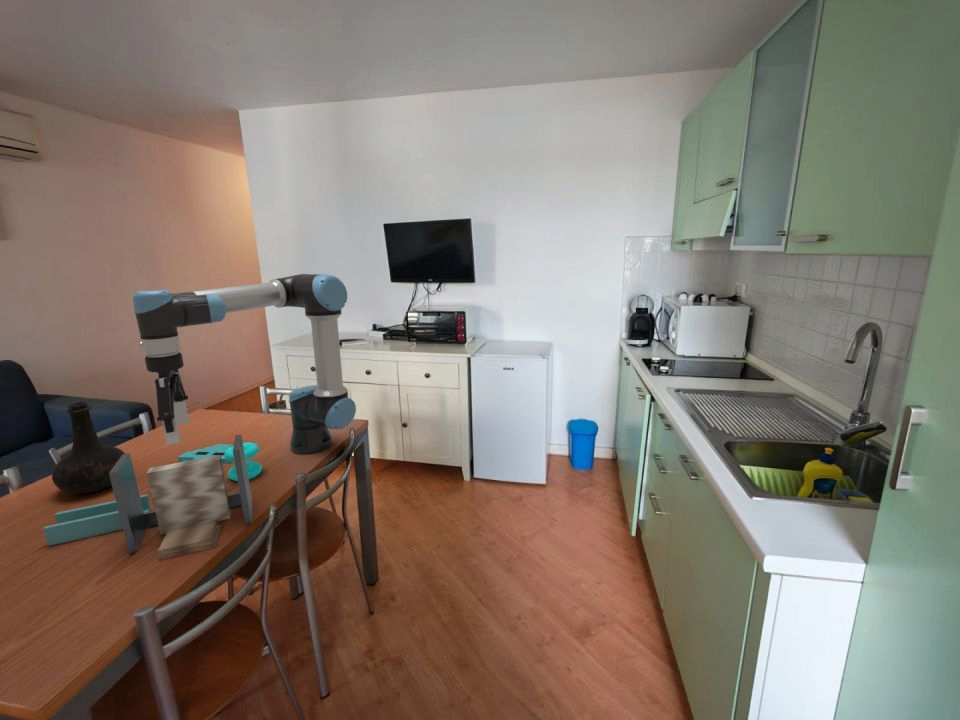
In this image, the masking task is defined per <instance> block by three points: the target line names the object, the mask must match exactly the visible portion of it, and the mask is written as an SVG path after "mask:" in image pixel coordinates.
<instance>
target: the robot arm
mask: <svg viewBox="0 0 960 720" xmlns="http://www.w3.org/2000/svg"><path fill="white" fill-rule="evenodd" d="M347 301H348V290H347V287H346V286H345V284H344V282H343V281H342V280H341V279H340V278H339V277H337V276H335V275H331V274H325V273H322V274H318V273H317V274H316V273H315V274H313V273H312V274H311V273H310V274H309V273H301V274H295V275H289V276H285V277H280V278H272V279H270V280H269V281H268V282H265V283H264V282H263V283H256V284H255V283H254V284H246V285H239V286H238V285H237V286H230V287H229V286H228V287H218V288H210V289H202V290H194V291H185V292H176V293H172V292H170V290H167V289H166V290H165V289H162V290H161V289H158V290H157V289H156V290H141V291H136V292H135V293H133V294H132V302H133V303H132V304H133V309H134V310H133V313H134V315H135V319H136V324H137V328H138V332H139V335H140V340H141V342H138V345H139V346H140V347H142V351H143V354H144V355H145V357H144V362H145V367H146V371H148V372H150V373H156V374H158V378H155V379H154V384H155V391H156V401H157V416H158V417H156V421H157V422H161V424H162V429H163V433H164V439H165V442H166V446H170V445H174V444H180V443H181V438H180V433H179V428H178V427H179V426H184V425H189V424H190V419H189V415H188V408H187V404H186V401H187V400H189V396H188V395H186V391H185V387H184V385H183V382H182V378H181V376H180V372H179V369H182V368H183V367H184V366H185V365H184V359H183V354H182V352H180V351H181V350H182V348H181V347H182V346H181V342H180V336H179V332H178V328H183V327H190V326H191V327H192V326H199V325H200V326H201V325H206V324H210V325H211V324H213V323H214V324H215V323H218V322H222V321H224V319H225V317H226V314H228V313H235V312H241V311H247V310H248V311H249V310H253V309H254V310H255V309H260V308H267V307H273V306H274V307H276V308H279V309H280V308H284V307H287V308H288V307H289V308H290V307H291V308H293V307H294V308H301V309H303V308H304V315H305V317H307V319H309V320H310V324H311V337H312V345H313V346H312V347H313V356H314V364H315V365H314V367H315V376H316V377H315V378H316V384H315V385H308V386H301V387H298V388H295V389H293V390H291V391H290V392H289V395H288V397H289V398H288V403H289V408H290V415H291V423H292V433H291V437H290V441H289V447H290V451H291V452H293V453H294V454H298V455H306V454H307V455H309V454H315V453H319V452H322V451H324V450H326V449H328V448H330V447H331V446H332V445H333V436H332V433H331V431H330V430H342V429H345V428H346V427H348V426H349V425H350V424H351V423H352V421H353V420H354V418H355V416H356V411H357V405H356V403H355V401H354V400H353V399H352V398H349V391H348V388H347V387H346V386H345V385H344V383H343V382H344V381H343V372H342V361H341V359H342V358H341V348H340V333H339V323H338V319H339V318H340V316H341V315H342V309H343V308H344V307H345V306H346V303H347Z"/></svg>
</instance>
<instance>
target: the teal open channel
mask: <svg viewBox="0 0 960 720" xmlns="http://www.w3.org/2000/svg"><path fill="white" fill-rule="evenodd" d="M140 499H141V503H142V507H143V512H144V513H145V512H150V511H152V507H151V503H150V500H149V499H150V498H149V494H146V493H145V494H141V495H140ZM54 518H55V522H56V523H54V524H51V525H46V526H44V527H43V528H42V529H43V533H44V536H45V539H46V543H47V546H48V547H50V546H54V545H58V544H63V543H68V542H72V541H77V540H82V539H84V538H85V539H86V538H90V537H95V536H99V535H102V534H108V533H112V532H116V531H121V530H123V528H122V524H121V520H120V516H119V512H118V508H117V504H116V500H113V501H108V502H102V503H98V504H94V505H93V504H92V505H88V506H84V507H83V506H82V507H78V508H72V509H67V510H63V511H58V512H56V513H54Z"/></svg>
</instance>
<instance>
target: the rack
mask: <svg viewBox="0 0 960 720" xmlns="http://www.w3.org/2000/svg"><path fill="white" fill-rule="evenodd" d="M233 441H234V442H233V446H234V447H233V455H234V461H235V462H234V465H235V467H236V473H237V479H238V481H237V484H238V489H239V491H238V492H234V493H233V492H232V493H229V494H228V493H227V494H228V500H229V506H230V509H233V508H237V507H241V508H242V513H243V520H244V525H245V526H246V525H251V524H252V522H253V521H252V520H253V519H252V518H253V503H254V501H253V495H252V490H251V485H250V479H249V478H248V472H247V465H246V461H247V460H246V459H245V453H244V447H243V443H244V441H243V434H236V435H235V436H234V440H233ZM133 465H134V464H133V461H132V456H131V453H130V452H129V453H125V454H123V455H122V456H121V457H120V459H119V460H118V461H117V463H116V464H115V466H114V467H113V468H112V470H111V471H110V473H109V476H110V480H111V484H112V486H111V487H112V493H113V495H114V499H115V500H114V501H116V504H117V508H118V512H119V516H120V520H121V524H122V528H123V529H122V530H123V531H122V532H123V535H124V539H125V544H126V547H127V552H128V554H133V553H137V552H138V550H139V547H140V545H141V542H142V540H143V537H144V536H145V534H146V531H147V529H148V528H151V527H155V526H159V525H158V521H157V516H156V512H155V509H154V510H151V511H150V512H145V513H144V512H143V507H142V503H141V499H140V496H141V495H140V491H139V486H138V482H137V479H136V474H135V470H134V466H133Z"/></svg>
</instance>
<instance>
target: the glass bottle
mask: <svg viewBox="0 0 960 720" xmlns="http://www.w3.org/2000/svg"><path fill="white" fill-rule="evenodd" d="M67 407H68V409H67V410H66V412H65V413H67V414H69V415H70V422H71V428H72V448H71V451H70V452H69V453H68V454H67V455H66V456H64V457H62V458H61V459H60V460H59V461H58V462H57V463H55V466H54V468H53V469H52V472H51V479H52V483H53V484H54V485H55V487H56V488H57V489H59V490H60V491H63V492H66V493H68V494H73V495H82V494H83V495H84V494H91V493H95V492H99V491H102V490H105V489H107V488H109V487H112V484H111V480H110V476H109V473H110V471H111V470H112V468H113V467H114V466H115V464H116V463H117V461H118V460H119V459H120V457H121V456H122V455H123V454H126V452H124V450H122V449H121V448H119V447H116V446H112V445H104V444H103V443H102V442H101V440H100V438H99V436H98V434H97V432H96V429H95V426H94V423H93V420H92V416H91V413H90V410H92V409H93V407H92V406H90V405H88V402H87V401H79V402H76V403H71V404H69V405H67Z"/></svg>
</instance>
